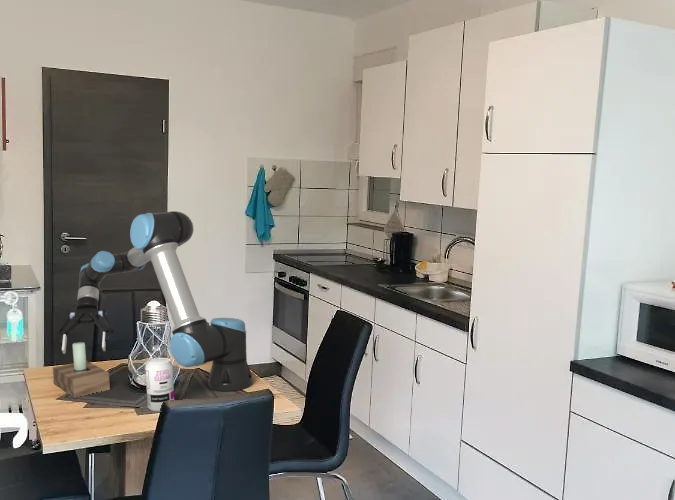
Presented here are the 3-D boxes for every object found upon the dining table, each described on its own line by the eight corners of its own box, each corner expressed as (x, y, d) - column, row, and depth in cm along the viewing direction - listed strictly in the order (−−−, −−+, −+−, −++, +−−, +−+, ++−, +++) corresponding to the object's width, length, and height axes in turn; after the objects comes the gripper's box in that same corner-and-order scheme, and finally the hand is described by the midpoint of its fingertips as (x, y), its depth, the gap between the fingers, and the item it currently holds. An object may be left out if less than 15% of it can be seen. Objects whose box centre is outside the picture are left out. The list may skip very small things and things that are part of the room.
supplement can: (161, 401, 219) (158, 356, 217) (180, 405, 215) (177, 359, 213) (142, 409, 212) (139, 362, 210) (161, 413, 208) (158, 366, 206)
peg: (90, 385, 235) (87, 343, 233) (77, 388, 232) (74, 346, 230) (85, 382, 238) (82, 341, 236) (73, 385, 235) (70, 343, 233)
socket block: (109, 389, 231) (108, 372, 231) (74, 398, 224) (73, 380, 223) (87, 376, 246) (86, 360, 246) (53, 383, 239) (52, 367, 238)
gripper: (123, 304, 261) (121, 353, 248) (54, 308, 256) (48, 358, 243) (121, 293, 255) (118, 342, 242) (50, 297, 250) (44, 347, 237)
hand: (83, 350), depth 243 cm, fingers open, 13 cm apart
